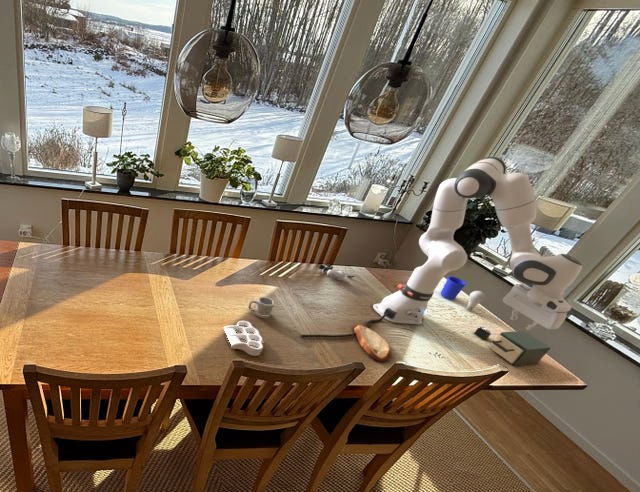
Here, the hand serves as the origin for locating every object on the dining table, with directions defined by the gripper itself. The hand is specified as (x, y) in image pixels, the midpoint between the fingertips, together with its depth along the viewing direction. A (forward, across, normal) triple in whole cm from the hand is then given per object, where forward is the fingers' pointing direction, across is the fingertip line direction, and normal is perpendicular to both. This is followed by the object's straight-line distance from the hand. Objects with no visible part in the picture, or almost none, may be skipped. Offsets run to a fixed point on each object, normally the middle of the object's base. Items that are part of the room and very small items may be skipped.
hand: (519, 324), depth 159 cm
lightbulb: (+17, -34, +23) cm, 44 cm away
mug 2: (+17, -48, +23) cm, 55 cm away
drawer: (+16, 0, +6) cm, 17 cm away
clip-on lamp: (+17, -68, -32) cm, 78 cm away
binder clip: (+17, -14, +8) cm, 23 cm away
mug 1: (+17, -38, -93) cm, 102 cm away
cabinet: (+17, 0, +11) cm, 20 cm away
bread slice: (+17, -13, -54) cm, 58 cm away
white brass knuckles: (+17, -20, -108) cm, 111 cm away
